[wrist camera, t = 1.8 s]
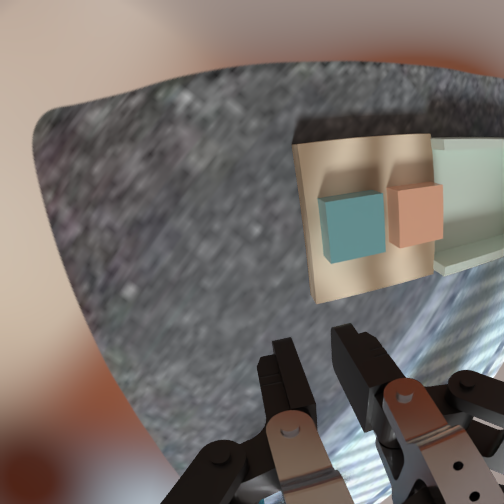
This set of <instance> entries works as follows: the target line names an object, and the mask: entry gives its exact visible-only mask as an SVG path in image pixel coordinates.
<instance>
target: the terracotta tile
mask: <svg viewBox="0 0 504 504" xmlns="http://www.w3.org/2000/svg"><path fill="white" fill-rule="evenodd" d="M386 190H387V205H388V226H389V242H390V243H392V244H393V245H395V246H396V247H398V248H400V249H401V248H405V247H409V246H414V245H418V244H422V243H426V242H431V241H435V240H439V239H443V185H442V184H438V183H434V182H422V183H415V184H407V185H400V186H392V187H386Z"/></svg>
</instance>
